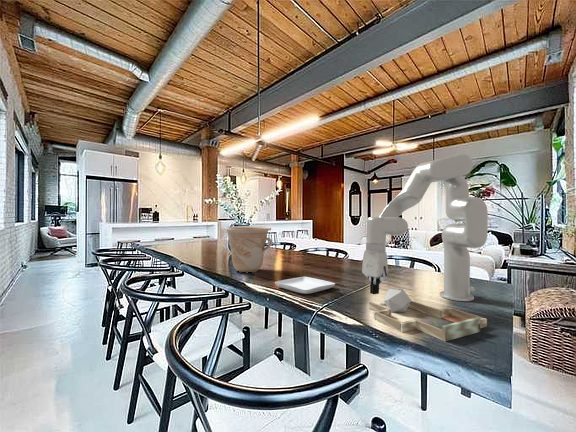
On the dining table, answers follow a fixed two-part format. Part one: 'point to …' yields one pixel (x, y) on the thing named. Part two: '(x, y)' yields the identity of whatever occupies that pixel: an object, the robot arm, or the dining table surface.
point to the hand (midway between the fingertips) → (374, 293)
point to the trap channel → (459, 328)
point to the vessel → (248, 246)
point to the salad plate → (305, 285)
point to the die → (397, 300)
